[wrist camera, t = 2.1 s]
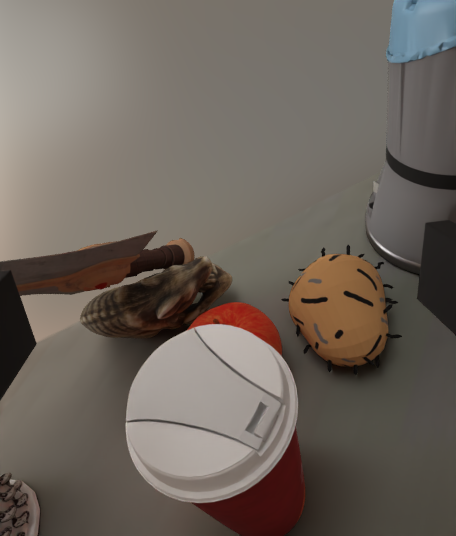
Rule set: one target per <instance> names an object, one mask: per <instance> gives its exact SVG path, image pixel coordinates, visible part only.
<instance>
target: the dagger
mask: <svg viewBox="0 0 456 536" xmlns="http://www.w3.org/2000/svg"><path fill="white" fill-rule="evenodd" d="M156 232H157V231H154V232H151V233H147V234H144V235H140V236H136V237H132V238H129V239H125V240H121V241H116V242H108V243H103V244H94V245H90V246H87V247H84V248H81V249H79V250H77V251H73V252H67V253H62V254H55V255H48V256H41V257H34V258H26V259H18V260H10V261H2V262H0V271H8V270H11V272H12V275H13V278H14V280H15V283H16V286H17V289H18V292H19V295H20V296H22V295H31V294H70V295H71V294H75V293H80V292H84V291H91V290H96V289H104V288H107V287H110V285H114V284H118V283H120V282H121V281H123V279H124V278H127V277H132V276H137V274H139V273H141V272H145V271H152V270H153V269H162V268H163V269H168V268H169V267H171V266H174V265H183V264H187V263H190V262H192V261H193V260H194V251H193V248H192V246H191V245H190V244H189V243H188V242H187V241H186V240H184V239H182V238H180V239H179V240H172V241H170V242H169V243H168V244H167V245H165V246H162V247H160V248H156V249H153V250H148V249H144V248H145V246H146V245H147V244H148V242H149V241H150V240H151V239H152V238H153V236H154V235H155V234H156ZM143 249H144V250H143Z"/></svg>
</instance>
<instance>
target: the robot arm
mask: <svg viewBox="0 0 456 536" xmlns="http://www.w3.org/2000/svg"><path fill="white" fill-rule="evenodd" d="M386 57H387V60H388V96H387V133H386V134H387V135H386V161H385V163H384V166H383V168H382V170H381V173H380V175H379V177H378V180H377V182H374V188H373V193H372V194H371V197H370V199H369V202H368V205H367V210H366V233H367V237H368V239H369V241H370V243H371V245H372V246H373V247H374V249H375V250H376V251H377V252H378V253H379V254H380V255H381V256H382V257H384V258H385V259H386V260H388V261H389V262H391V263H392V264H394V265H396V266H398V267H400V268H402V269H405V270H407V271H410V272H413V273H416V274H420V277H419V286H418V295H417V299H418V300H419V301H420V302H421V303H422V304H423V305H424V306H425V307H426V308H427V309H428V310H430V311H431V312H432V313H433V314H434V315H435V316H436V317H437V318H438V319H439V320H440V321H441V322H442V323H443V324H444V325H445V326H446V327H447V328H448V329H450V330H451V331H452V332H453V333H454V334H455V335H456V0H395V1H394V4H393V9H392V19H391V31H390V41H389V46H388V48H387V51H386ZM35 346H36V341H35V338H34V335H33V332H32V329H31V326H30V324H29V321H28V318H27V315H26V312H25V309H24V306H23V304H22V301H21V298H20V295H19V292H18V289H17V286H16V283H15V280H14V278H13V275H12V272H11V270H8V271H0V400H1V399H2V397H3V395H4V394H5V392H6V391H7V389H8V388H9V386H10V385H11V383H12V381H13V380H14V378H15V377H16V375H17V374H18V372H19V371H20V369H21V367H22V366H23V364H24V363H25V361H26V360H27V358H28V356H29V355H30V353H31V352H32V350H33V349H34V347H35Z"/></svg>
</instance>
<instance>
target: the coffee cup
mask: <svg viewBox="0 0 456 536" xmlns="http://www.w3.org/2000/svg"><path fill="white" fill-rule="evenodd" d="M195 330H196V331H195ZM297 416H298V396H297V388H296V384H295V381H294V378H293V375H292V373H291V371H290V369H289V367H288V365H287V363H286V362H285V360H284V359H283V358H282V356H281V355H280V354H279V353H278V352H277V351H276V350H275V349H274V348H273V347H272V346H270V345H269V344H267V343H266V342H264V341H263V340H261V339H260V338H258V337H257V336H255V335H254V334H252V333H250V332H248V331H246V330H244V329H241V328H238V327H234V326H230V325H222V324H209V325H203V326H198V327H195V329H194V328H192V329H190V330H187V331H185V332H183V333H181V334H179V335H177V336H175V337H173V338H171V339H169V340H168V341H166V342H165V343H164V344H162V345H161V346H160V347H158V348H157V349H156V350H155V351H154V352H153V353H152V354H151V355H150V357H149V358H148V359H147V360H146V361H145V363H144V364H143V366H142V367H141V368H140V370H139V372H138V373H137V375H136V377H135V379H134V381H133V383H132V386H131V389H130V392H129V397H128V404H127V414H126V436H127V445H128V449H129V452H130V455H131V458H132V460H133V462H134V464H135V466H136V468H137V470H138V471H139V473H140V474H141V475H142V477H143V478H144V479H145V480H146V481H147V482H148V483H149V484H150V485H151V486H153V487H154V488H155V489H156V490H157V491H159V492H161V493H163V494H165V495H166V496H168V497H171V498H174V499H177V500H180V501H183V502H191V503H192V504H194V505H195V506H197V507H198V508H200V509H201V510H203V511H204V512H206V513H207V514H209V515H210V516H212V517H213V518H215V519H216V520H218V521H219V522H221V523H222V524H224V525H225V526H227V527H228V528H230V529H231V530H233V531H234V532H236V533H238V534H240V535H241V536H284V535H285V534H287V533H288V532H289V531H290V530H291V529H292V528H293V527H294V526H295V524H296V523H297V521H298V520H299V518H300V516H301V513H302V511H303V507H304V503H305V481H304V474H303V467H302V461H301V455H300V449H299V443H298V437H297V431H296V421H297Z"/></svg>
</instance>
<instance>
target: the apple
mask: <svg viewBox="0 0 456 536" xmlns="http://www.w3.org/2000/svg"><path fill="white" fill-rule="evenodd" d="M209 324H222V325H230V326H234V327H238V328H241V329H244V330H246V331H248V332H250V333H252V334H254V335H255V336H257V337H258V338H260V339H261V340H263V341H264V342H266V343H267V344H269V345H270V346H272V347H273V348H274V349H275V350H276V351H277V352H278V353H279V354H280V355H281V356H282V345H281V340H280V336H279V333H278V331H277V329H276V327H275V325H274V324H273V322H272V321H271V320H270V319H269V318H268V317H267V316H266V315H265V314H264V313H263V312H261V311H260V310H258V309H257V308H255V307H253V306H251V305H249V304H245V303H240V302H233V303H227V304H223V305H220V306H217V307H215V308H212V309H210V310H207V311H206V312H204V313H202V314H201V315H199V316H198V317H197V318H196V319H195V320H194V321H193V323H192V324H191V325H190V326H189V328H188V329H187V330H190V329H192V328H194V329H195V327H198V326H203V325H209ZM195 331H196V330H195Z"/></svg>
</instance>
